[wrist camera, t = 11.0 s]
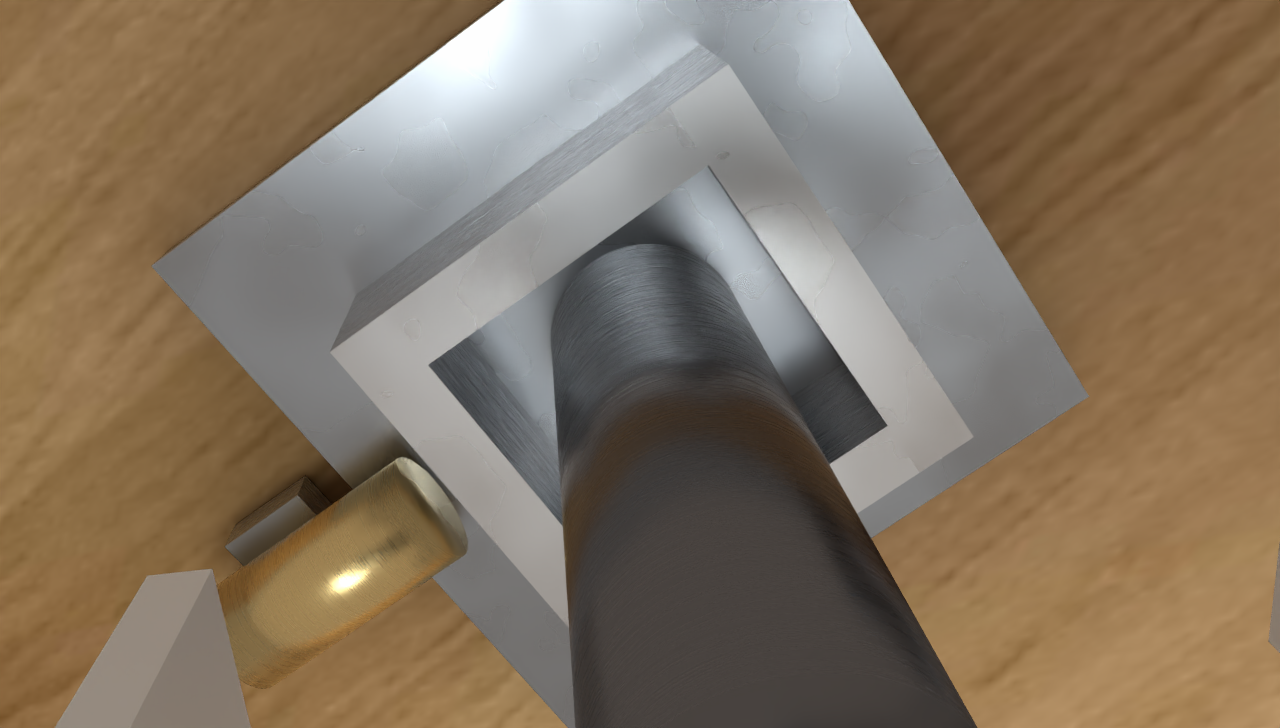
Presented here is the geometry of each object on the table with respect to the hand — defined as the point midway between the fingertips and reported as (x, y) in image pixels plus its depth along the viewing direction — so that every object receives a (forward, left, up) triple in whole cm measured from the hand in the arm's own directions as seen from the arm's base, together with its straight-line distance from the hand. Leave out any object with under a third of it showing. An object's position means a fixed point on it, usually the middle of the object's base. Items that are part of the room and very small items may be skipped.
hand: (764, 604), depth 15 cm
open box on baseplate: (+2, 0, -12) cm, 12 cm away
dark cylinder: (0, 0, -11) cm, 11 cm away
